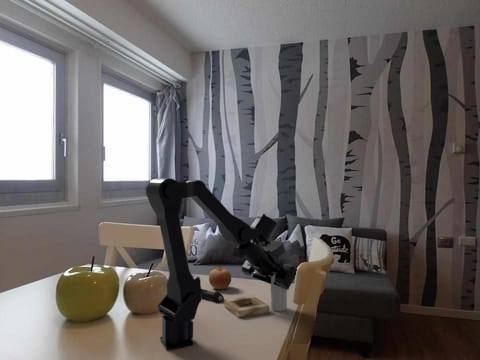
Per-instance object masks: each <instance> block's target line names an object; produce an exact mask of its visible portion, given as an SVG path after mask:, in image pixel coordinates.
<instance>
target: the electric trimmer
mask: <svg viewBox="0 0 480 360" xmlns="http://www.w3.org/2000/svg"><path fill="white" fill-rule="evenodd" d="M201 289H202V291H203V293H201V299H206V300H208V301H209V300H210V301H213V302H214V303H215V304H220V303H222V302H223V303H224V300H225V297H224V295H223V294H222V293H220V292H219V291H211V290H208V289H203V288H201Z"/></svg>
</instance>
